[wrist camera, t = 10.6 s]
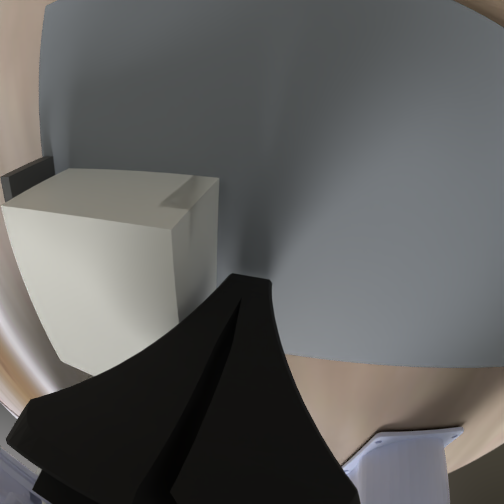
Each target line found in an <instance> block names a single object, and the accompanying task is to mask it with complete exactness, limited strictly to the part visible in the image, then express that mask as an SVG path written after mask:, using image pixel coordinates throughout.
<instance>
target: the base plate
mask: <svg viewBox="0 0 504 504" xmlns="http://www.w3.org/2000/svg"><path fill="white" fill-rule="evenodd" d="M39 118H40V134H41V146H42V156H43V157H42V158H39V159H37V160H35V161H33V162H30V163H28V164H26V165H24V166H22V167H20V168H18V169H15V170H13V171H11V172H9V173H7V174H5V175H3V176H1V183H2V188H3V193H4V198H5V203H6V202H7V201H9V200H11V199H12V198H14V197H16V196H17V195H19V194H21V193H23V192H24V191H26V190H28V189H30V188H32V187H33V186H35V185H37V184H39V183H41V182H43V181H45V180H47V179H48V178H50V177H52V176H54V175H56V174H58V173H60V172H62V171H64V170H67V169H69V168H79V169H110V170H130V171H147V172H161V173H174V174H185V175H196V176H206V177H215V178H219V201H218V232H217V277H216V289H217V288H218V287H219V285H220V284H221V283H222V282H223V281H224V280H225V279H226V278H227V277H228V275H230V274H232V273H235V274H240V275H246V276H252V277H258V278H264V279H270V281H271V282H272V302H273V309H274V315H275V320H276V324H277V329H278V333H279V337H280V340H281V344H282V347H283V350H284V354H290V355H297V356H304V357H311V358H319V359H327V360H336V361H345V362H355V363H365V364H377V365H391V366H409V367H437V368H478V367H504V28H503V27H502V26H500V25H499V24H497V23H495V22H494V21H492V20H490V19H488V18H487V17H485V16H483V15H481V14H479V13H477V12H475V11H474V10H472V9H470V8H468V7H466V6H464V5H462V4H459V3H457V2H455V1H453V0H57V1H55V2H53V3H51V4H49V5H47V6H46V8H45V14H44V21H43V29H42V38H41V49H40V65H39Z"/></svg>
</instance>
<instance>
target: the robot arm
mask: <svg viewBox="0 0 504 504" xmlns="http://www.w3.org/2000/svg"><path fill="white" fill-rule="evenodd" d="M463 432H464V429H463V427H455V428H446V429H436V430H423V431H403V432H380V433H377V434H376V435H375V436H374V437H373V438H372V439H371V440H370V441H369V442H368V443H367V444H366V445H365V446H364V447H362V448H361V449H360V450H359V451H358V452H357V453H356V454H355V455H354V456H353V457H352V458H351V459H350V460H348V461H347V462H346V463H345V464H344V465H343V466H342V467H341V466H340V464H339V463H338V461H337V460H336V458H335V457H334V455H333V454H332V452H331V451H330V449H329V447H328V446H327V444H326V442H325V441H324V439H323V438H322V436H321V434H320V432H319V430H318V428H317V427H316V425H315V423H314V421H313V419H312V417H311V415H310V413H309V412H308V410H307V408H306V406H305V404H304V402H303V399H302V397H301V395H300V393H299V391H298V388H297V386H296V384H295V381H294V379H293V376H292V374H291V371H290V368H289V366H288V363H287V360H286V357H285V354H284V350H283V347H282V344H281V340H280V337H279V333H278V329H277V324H276V320H275V315H274V309H273V302H272V282H271V281H270V279H264V278H258V277H252V276H246V275H240V274H235V273H232V274H230V275H228V277H227V278H226V279H225V280H224V281H223V282H222V283H221V284H220V285H219V287H218V288H217V289H216V290H215V291H214V292H213V293H212V294H211V295H210V296H209V297H208V298H207V299H206V300H205V301H204V302H202V303H201V304H200V305H199V306H198V307H197V308H196V309H195V310H194V311H193V312H192V313H191V314H189V315H188V316H187V317H186V318H185V319H183V320H182V321H181V322H180V323H179V324H177V325H176V326H175V327H174V328H173V329H171V330H170V331H169V332H168V333H166V334H165V335H163V336H162V337H161V338H159V339H158V340H157V341H155V342H154V343H152V344H151V345H149V346H148V347H146V348H145V349H143V350H142V351H140V352H139V353H137V354H135V355H134V356H132V357H130V358H129V359H127V360H125V361H124V362H122V363H120V364H118V365H116V366H115V367H113V368H111V369H109V370H107V371H105V372H103V373H101V374H98V375H96V376H94V377H92V378H90V379H87V380H85V381H83V382H81V383H79V384H76V385H74V386H71V387H69V388H66V389H63V390H60V391H57V392H54V393H51V394H48V395H44V396H41V397H38V398H34V399H31V400H30V401H29V402H28V404H27V405H26V407H25V408H24V410H23V411H22V413H21V414H20V416H19V418H18V419H17V421H16V423H15V424H14V426H13V428H12V430H11V431H10V433H9V434H8V436H7V438H6V441H7V444H8V445H10V446H11V447H12V448H13V449H15V450H16V451H17V452H18V453H20V454H21V455H22V456H24V457H25V458H26V459H28V460H29V461H30V462H32V463H33V464H35V465H36V466H38V467H39V468H40V469H42V470H41V472H40V474H39V475H37V474H36V473H34V472H33V471H31V470H30V469H29V468H27V467H26V466H25V465H24V464H22V463H21V462H20V461H18V460H17V459H16V458H14V457H13V456H12V455H11V454H10V453H8V452H7V451H6V450H5V449H4V448H2V447H1V446H0V504H42V501H44V502H45V503H46V504H450V497H449V484H448V474H447V465H446V457H445V450H444V448H445V447H446V446H447V445H448V444H450V443H451V442H452V441H453V440H455V439H456V438H457V437H458V436H460V435H461V434H462V433H463ZM41 500H42V501H41Z"/></svg>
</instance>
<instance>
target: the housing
mask: <svg viewBox="0 0 504 504" xmlns="http://www.w3.org/2000/svg"><path fill="white" fill-rule="evenodd" d="M218 201H219V178H215V177H206V176H196V175H185V174H174V173H161V172H147V171H130V170H110V169H79V168H69V169H67V170H64V171H62V172H60V173H58V174H56V175H54V176H52V177H50V178H48V179H47V180H45V181H43V182H41V183H39V184H37V185H35V186H33V187H32V188H30V189H28V190H26V191H24V192H23V193H21V194H19V195H17V196H16V197H14V198H12V199H11V200H9V201H7V202H6V203H4V204H2V205H1V209H2V213H3V217H4V221H5V225H6V229H7V232H8V236H9V239H10V243H11V246H12V249H13V252H14V255H15V259H16V261H17V264H18V267H19V270H20V273H21V276H22V278H23V281H24V284H25V286H26V289H27V291H28V294H29V296H30V299H31V301H32V303H33V306H34V308H35V310H36V312H37V315H38V317H39V319H40V321H41V323H42V325H43V328H44V330H45V332H46V334H47V336H48V338H49V340H50V342H51V344H52V345H53V347H54V349H55V351H56V353H57V355H58V357H59V358H60V360H61V361H62V362H64V363H66V364H68V365H70V366H72V367H74V368H77V369H79V370H81V371H83V372H86V373H88V374H90V375H93V376H96V375H98V374H101V373H103V372H105V371H107V370H109V369H111V368H113V367H115V366H116V365H118V364H120V363H122V362H124V361H125V360H127V359H129V358H130V357H132V356H134V355H135V354H137V353H139V352H140V351H142V350H143V349H145V348H146V347H148V346H149V345H151V344H152V343H154V342H155V341H157V340H158V339H159V338H161V337H162V336H163V335H165V334H166V333H168V332H169V331H170V330H171V329H173V328H174V327H175V326H176V325H177V324H179V323H180V322H181V321H182V320H183V319H185V318H186V317H187V316H188V315H189V314H191V313H192V312H193V311H194V310H195V309H196V308H197V307H198V306H199V305H200V304H201V303H202V302H204V301H205V300H206V299H207V298H208V297H209V296H210V295H211V294H212V293H213V292H214V291H215V290H216V277H217V232H218Z"/></svg>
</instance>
